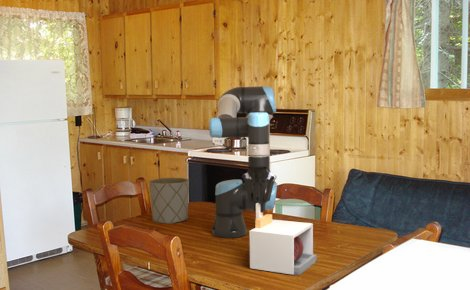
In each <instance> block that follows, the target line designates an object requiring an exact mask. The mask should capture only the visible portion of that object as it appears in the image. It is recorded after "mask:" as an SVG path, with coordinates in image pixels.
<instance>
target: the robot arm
mask: <svg viewBox="0 0 470 290" xmlns="http://www.w3.org/2000/svg"><path fill="white" fill-rule="evenodd" d="M217 101H218V102H217V108H218V112H217V116H216V117H211V118H210V119H209V124H208V129H209V130H208V131H209V136H210V137H211V138H218V139H222V138H223V139H224V138H225V139H227V138H247V141H248V143H247V144H248V145H247V149H248V150H247V151H248V152H247V153H248V155H249V156H248V157H247V158H248V159H247V160H248V161H247V162H248V169H247V172H246V173H243V174H242V175H241V177H242V179H243V180H242V179H230V180H229V179H228V180H223V181H220V182H218V183H217V184H216V185H215V193H214V195H215V218H214V222H213V225H212V228H211V232H212V233H211V235H212V236H214V237H217V238H224V239H225V238H226V239H227V238H228V239H229V238H240V237H243V236H246V235H247V233H248V229H247V226H246V222H245V219H244V215H243V211H253V212H254V213H255V219H257V218H260V217H262V216H264V213H265V211H267V210H268V211H269V210H270V211H271V210H273V209H274V208H275V206H276V199H277V190H278V183H277V182H275V181H276V179H277V175H274V174H273V173H271V148H270V147H271V146H270V145H271V143H270V142H271V139H270V138H271V135H270V133H271V132H270V129H271V128H270V127H271V125H270V124H271V123H270V122H271V119H272V118H274V114H275V113H277V107H276V99H275V91H274V88H272V87H271V86H264V85H262V86H237V87H232V88H231V89H227V90H226V91H225V92H224V93H222V94H221V96H220V97H219V99H218V100H217ZM237 114H246V117H242V116H241V117H240V116H239V117H238V116H237Z"/></svg>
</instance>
